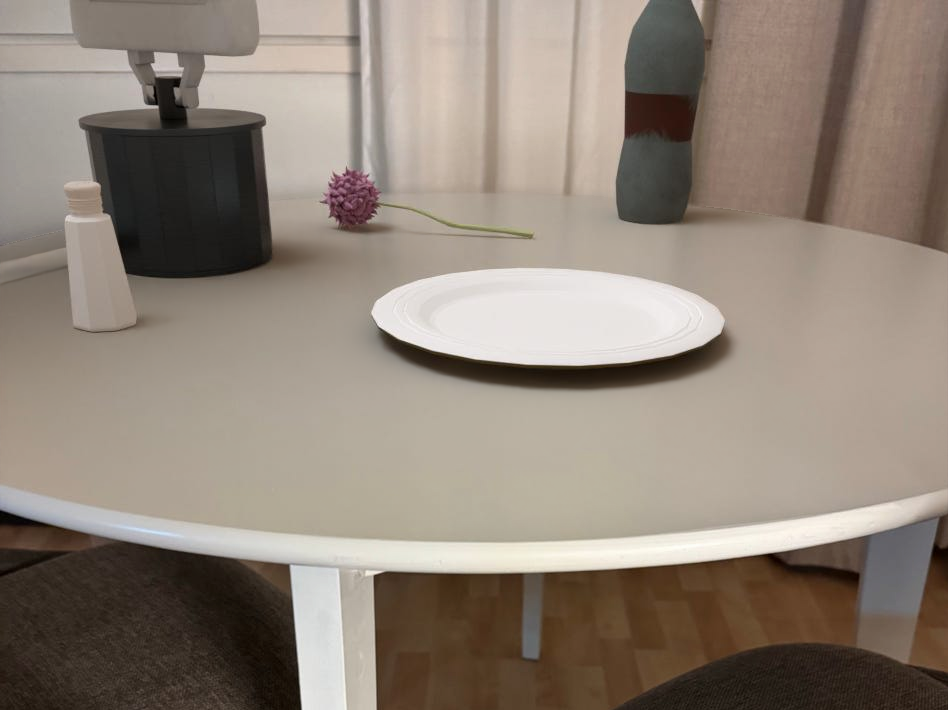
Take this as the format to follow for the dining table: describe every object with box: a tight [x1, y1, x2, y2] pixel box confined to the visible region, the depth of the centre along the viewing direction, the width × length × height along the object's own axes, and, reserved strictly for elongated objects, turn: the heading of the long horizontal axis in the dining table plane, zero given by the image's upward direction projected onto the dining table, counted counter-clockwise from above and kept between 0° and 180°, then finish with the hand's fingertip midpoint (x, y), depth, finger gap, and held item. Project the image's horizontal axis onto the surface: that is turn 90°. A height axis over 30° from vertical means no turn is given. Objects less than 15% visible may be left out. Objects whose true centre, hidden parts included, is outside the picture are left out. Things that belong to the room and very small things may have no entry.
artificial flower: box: [318, 165, 535, 239], centre depth 121 cm, size 7×7×25 cm
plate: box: [370, 267, 726, 371], centre depth 89 cm, size 29×29×2 cm
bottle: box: [615, 0, 706, 225], centre depth 123 cm, size 9×9×30 cm
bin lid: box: [77, 75, 267, 137], centre depth 102 cm, size 18×18×5 cm
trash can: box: [84, 127, 274, 278], centre depth 107 cm, size 17×17×12 cm
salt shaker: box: [62, 180, 138, 333], centre depth 87 cm, size 5×5×11 cm
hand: (172, 106), depth 102 cm, fingers closed on bin lid, 2 cm apart
